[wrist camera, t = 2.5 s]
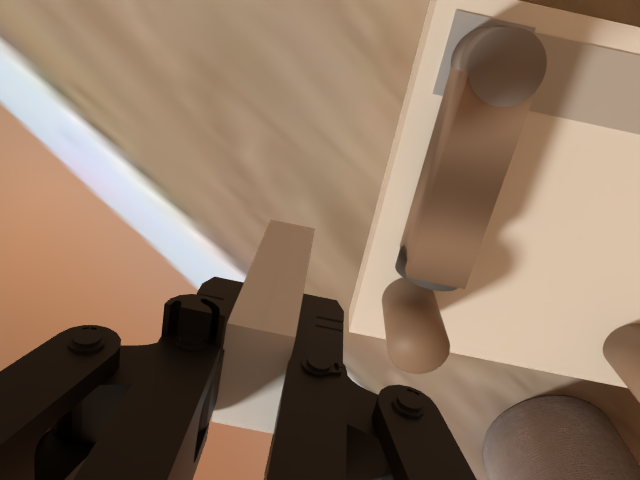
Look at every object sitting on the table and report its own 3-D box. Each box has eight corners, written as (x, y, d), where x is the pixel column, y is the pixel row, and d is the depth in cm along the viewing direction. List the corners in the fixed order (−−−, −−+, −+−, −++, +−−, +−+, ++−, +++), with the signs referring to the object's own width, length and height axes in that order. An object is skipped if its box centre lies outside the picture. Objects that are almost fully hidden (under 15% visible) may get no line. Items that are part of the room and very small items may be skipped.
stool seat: (433, -14, 27) (463, -28, 20) (798, 68, 27) (951, 82, 20) (349, 311, 34) (349, 383, 27) (634, 369, 35) (704, 453, 28)
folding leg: (458, 19, 25) (478, 18, 21) (529, 35, 25) (563, 37, 21) (392, 251, 30) (398, 285, 26) (452, 264, 30) (468, 300, 26)
